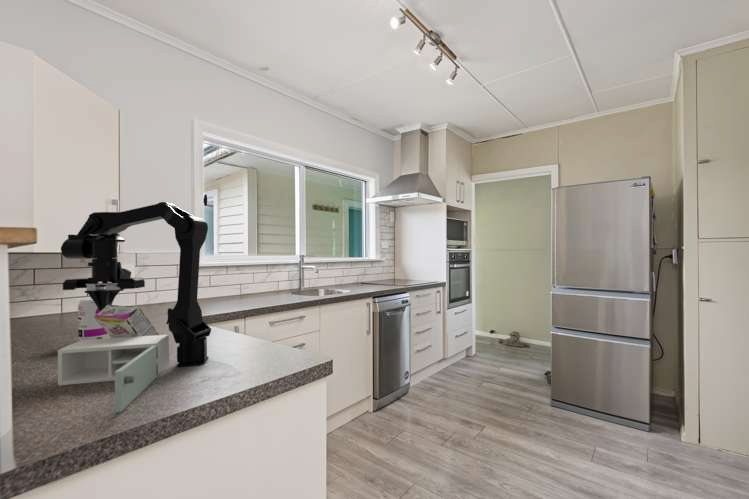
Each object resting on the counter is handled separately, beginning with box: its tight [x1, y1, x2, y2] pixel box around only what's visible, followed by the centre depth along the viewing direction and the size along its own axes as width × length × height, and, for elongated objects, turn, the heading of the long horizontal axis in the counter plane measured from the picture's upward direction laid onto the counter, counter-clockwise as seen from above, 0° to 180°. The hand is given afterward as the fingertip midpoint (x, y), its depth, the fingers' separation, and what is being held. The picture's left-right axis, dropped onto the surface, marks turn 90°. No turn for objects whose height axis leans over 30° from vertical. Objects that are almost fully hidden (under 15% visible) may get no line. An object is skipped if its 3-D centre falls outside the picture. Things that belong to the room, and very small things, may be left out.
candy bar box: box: [94, 304, 160, 338], centre depth 100 cm, size 11×5×16 cm
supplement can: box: [77, 297, 110, 342], centre depth 122 cm, size 8×8×15 cm
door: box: [114, 346, 159, 413], centre depth 77 cm, size 21×2×8 cm, turn 14°
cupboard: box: [57, 334, 170, 386], centre depth 90 cm, size 20×10×8 cm, turn 104°
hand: (105, 314), depth 100 cm, fingers closed
